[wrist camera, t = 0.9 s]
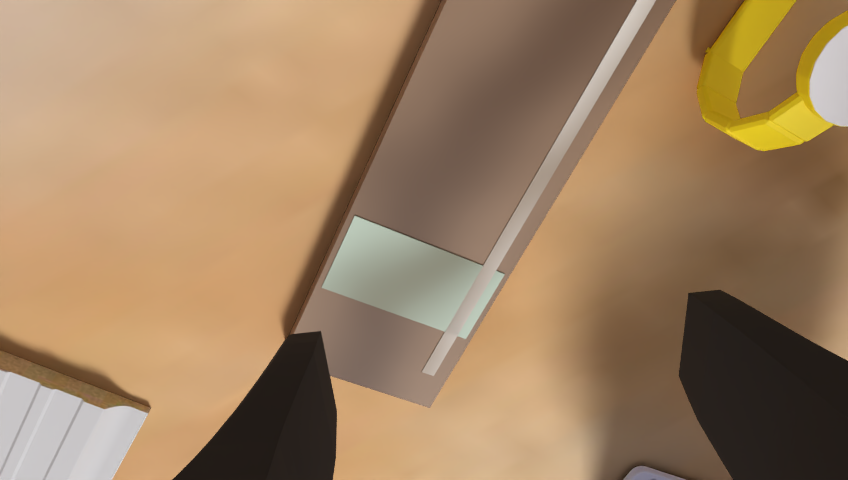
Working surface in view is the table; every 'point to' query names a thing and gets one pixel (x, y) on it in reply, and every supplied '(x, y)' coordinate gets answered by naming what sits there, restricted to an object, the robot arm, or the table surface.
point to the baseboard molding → (61, 425)
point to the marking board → (466, 180)
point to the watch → (815, 79)
